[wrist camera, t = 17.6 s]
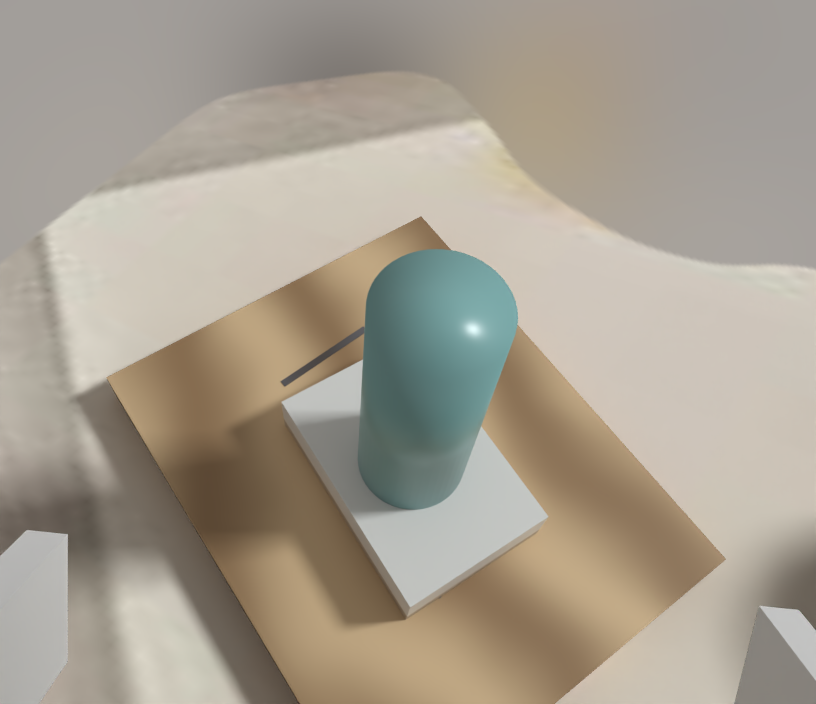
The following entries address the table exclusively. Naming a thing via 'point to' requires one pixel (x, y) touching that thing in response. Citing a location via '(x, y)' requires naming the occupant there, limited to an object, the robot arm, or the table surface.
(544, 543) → the board
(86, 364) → the table surface
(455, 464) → the teal cylinder on base
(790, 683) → the robot arm
